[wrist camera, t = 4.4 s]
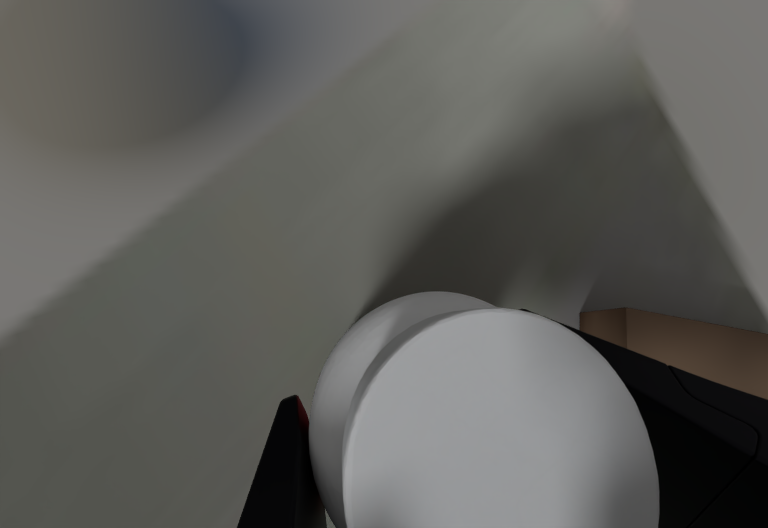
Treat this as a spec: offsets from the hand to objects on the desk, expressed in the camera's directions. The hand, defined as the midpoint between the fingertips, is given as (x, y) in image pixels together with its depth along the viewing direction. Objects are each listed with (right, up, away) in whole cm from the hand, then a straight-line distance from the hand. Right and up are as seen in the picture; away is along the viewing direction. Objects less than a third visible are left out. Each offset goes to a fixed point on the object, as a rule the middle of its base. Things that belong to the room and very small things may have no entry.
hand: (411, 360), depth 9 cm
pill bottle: (0, -3, +6) cm, 7 cm away
